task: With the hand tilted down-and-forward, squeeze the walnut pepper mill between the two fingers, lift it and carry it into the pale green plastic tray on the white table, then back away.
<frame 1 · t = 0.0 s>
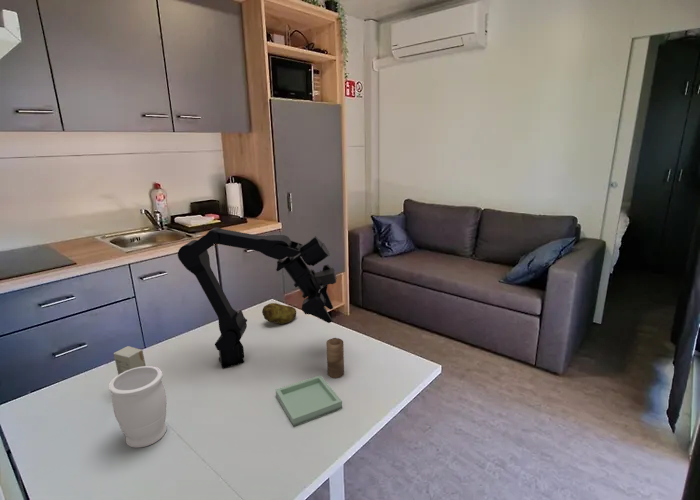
hand: (331, 315, 114), 15 cm above the table, tool tilted 35°, fingers open, 9 cm apart
jar: (146, 435, 89), on the table
mill: (335, 373, 111), on the table
skincare box: (136, 391, 105), on the table
potato: (280, 322, 144), on the table
tray: (308, 402, 99), on the table
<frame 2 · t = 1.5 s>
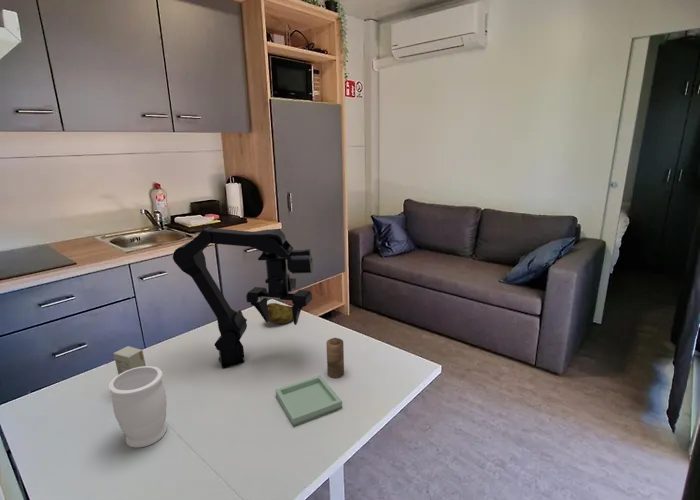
hand: (281, 323, 115), 13 cm above the table, tool pointing down, fingers open, 9 cm apart
nothing on the table moved.
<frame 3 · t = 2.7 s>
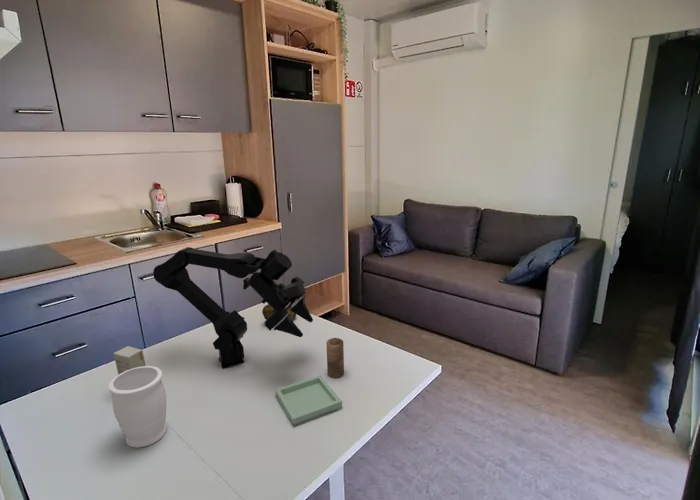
hand: (307, 328, 110), 13 cm above the table, tool tilted 45°, fingers open, 9 cm apart
nothing on the table moved.
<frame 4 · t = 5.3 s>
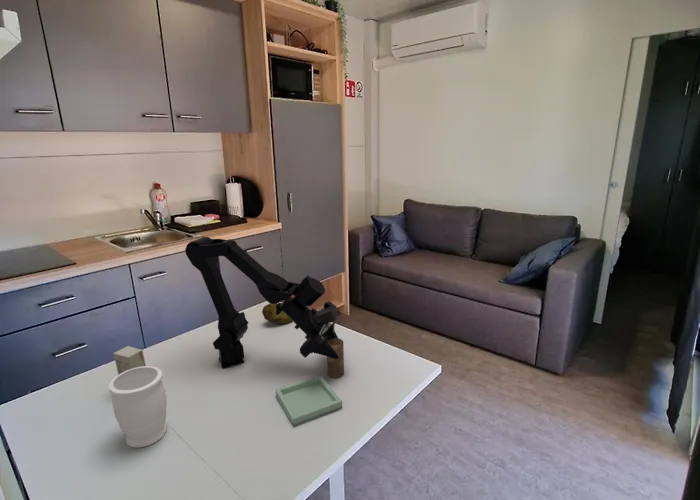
hand: (339, 353, 109), 7 cm above the table, tool tilted 45°, fingers open, 5 cm apart
mill: (335, 373, 111), on the table, touching gripper
everything else where it was.
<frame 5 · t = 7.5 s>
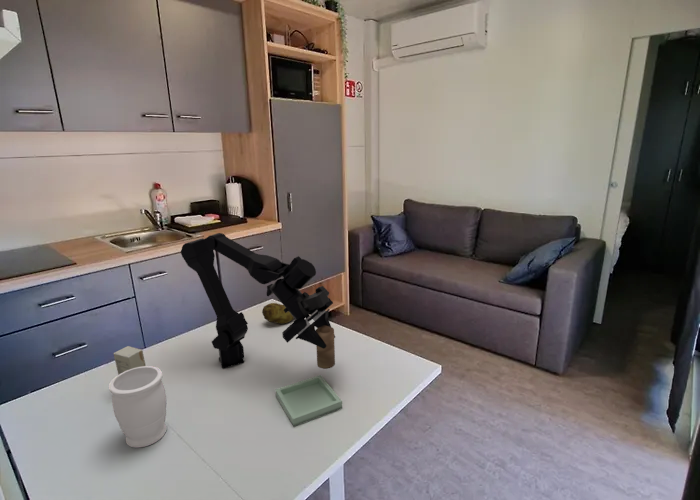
hand: (329, 342, 101), 13 cm above the table, tool tilted 45°, fingers closed on mill, 5 cm apart
mill: (326, 363, 104), point 7 cm above the table, touching gripper
everything else where it was.
when the fingers open (8 cm above the table, at t = 9.4 s): mill drops 1 cm, resting on tray.
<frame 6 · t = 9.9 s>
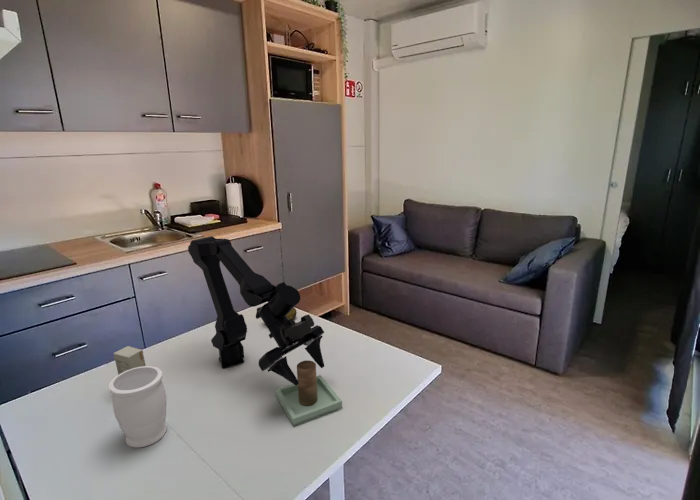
hand: (310, 375, 96), 8 cm above the table, tool tilted 45°, fingers open, 9 cm apart
mill: (308, 400, 99), point 1 cm above the table, touching tray
everything else where it was.
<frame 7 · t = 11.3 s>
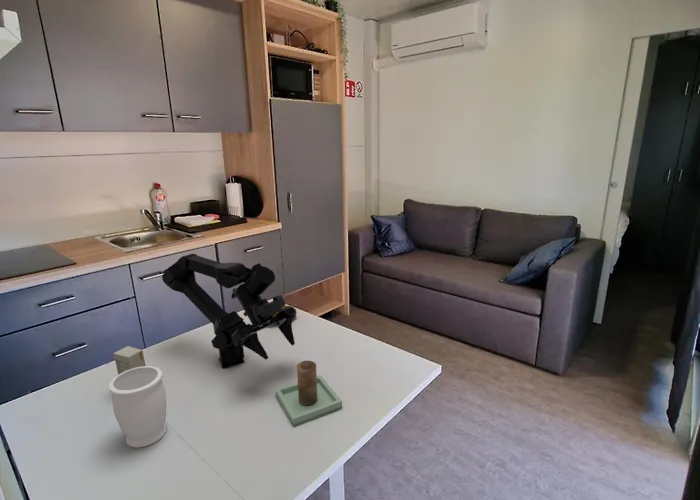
hand: (280, 351, 103), 11 cm above the table, tool tilted 45°, fingers open, 9 cm apart
nothing on the table moved.
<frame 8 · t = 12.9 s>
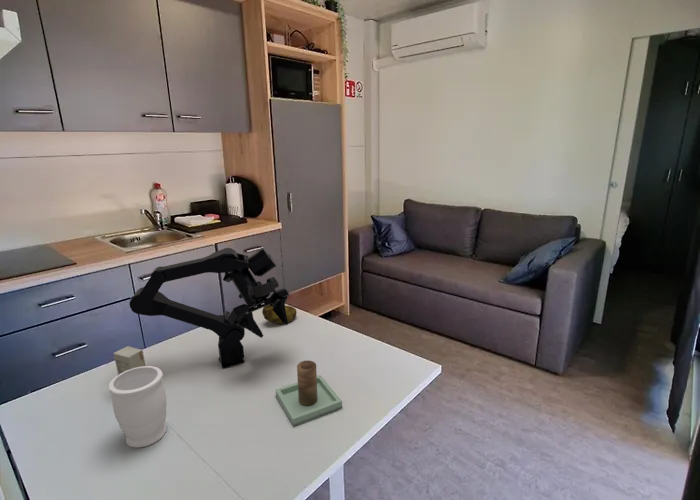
hand: (275, 330, 108), 14 cm above the table, tool tilted 45°, fingers open, 9 cm apart
nothing on the table moved.
at the end: mill inside the target area on the tray (0.0 cm from its centre), point 0.6 cm above the tray's base; mill tilted 1°; the gripper is holding nothing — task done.
